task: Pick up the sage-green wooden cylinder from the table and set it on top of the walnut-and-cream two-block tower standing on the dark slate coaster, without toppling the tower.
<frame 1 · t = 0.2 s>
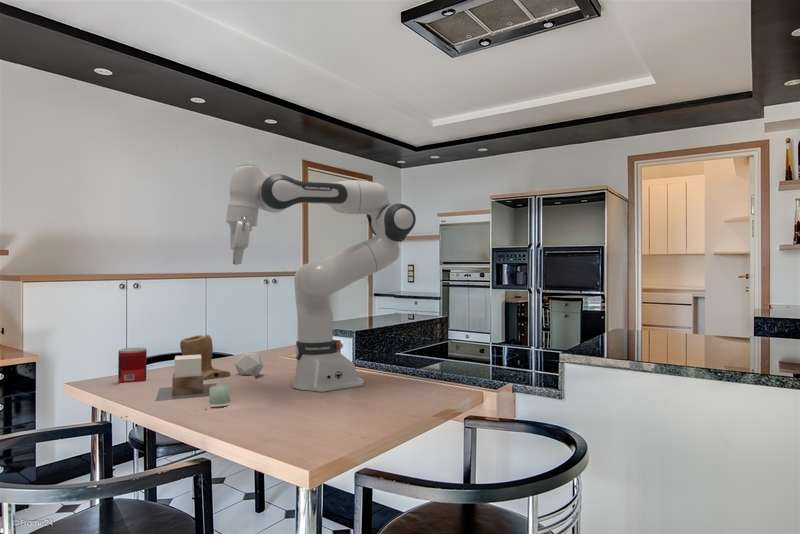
hand: (236, 264, 144), 38 cm above the table, tool pointing down, fingers open, 8 cm apart
cream block: (188, 374, 140), point 6 cm above the table, touching walnut block
walnut block: (188, 391, 140), point 1 cm above the table, touching cream block, slate coaster
tan boot: (202, 380, 161), on the table
slate coaster: (188, 395, 140), on the table
die: (249, 377, 166), on the table
canned food: (132, 383, 157), on the table
sage cylinder: (219, 405, 130), on the table
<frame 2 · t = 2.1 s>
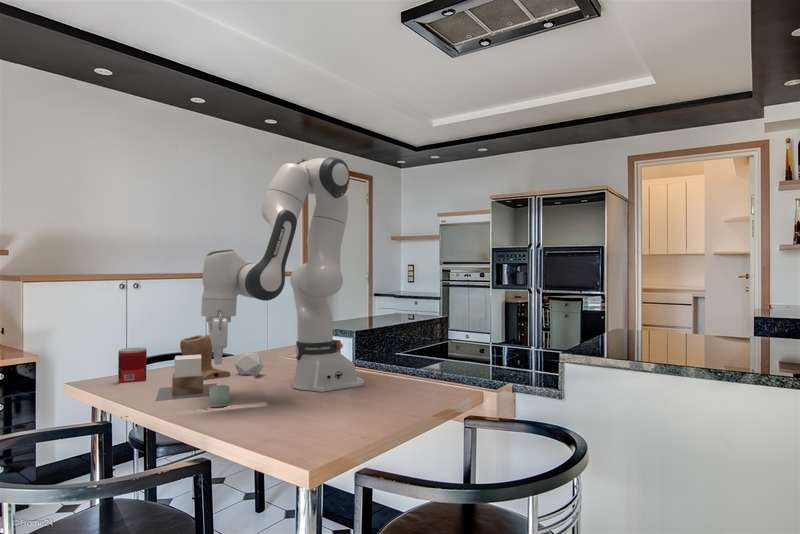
hand: (217, 361, 129), 12 cm above the table, tool pointing down, fingers open, 8 cm apart
nothing on the table moved.
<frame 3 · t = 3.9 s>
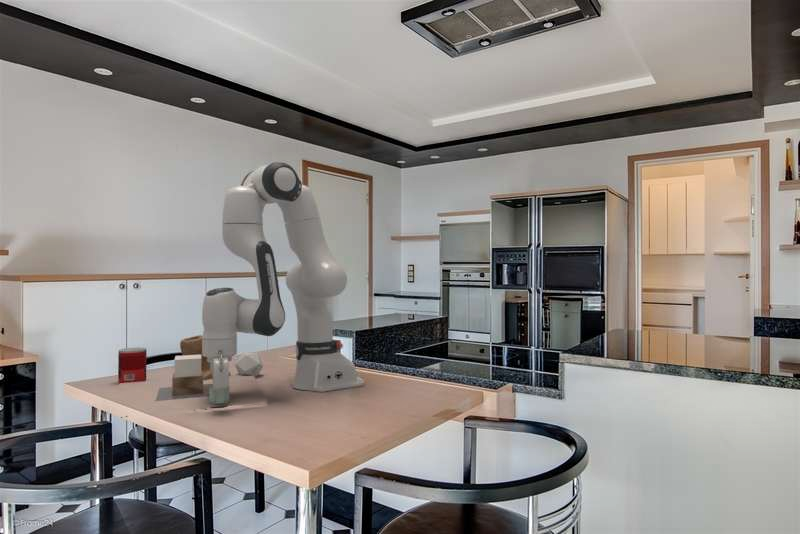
hand: (219, 399, 130), 2 cm above the table, tool pointing down, fingers closed on sage cylinder, 5 cm apart
sage cylinder: (219, 405, 130), on the table, touching gripper
everything else where it was.
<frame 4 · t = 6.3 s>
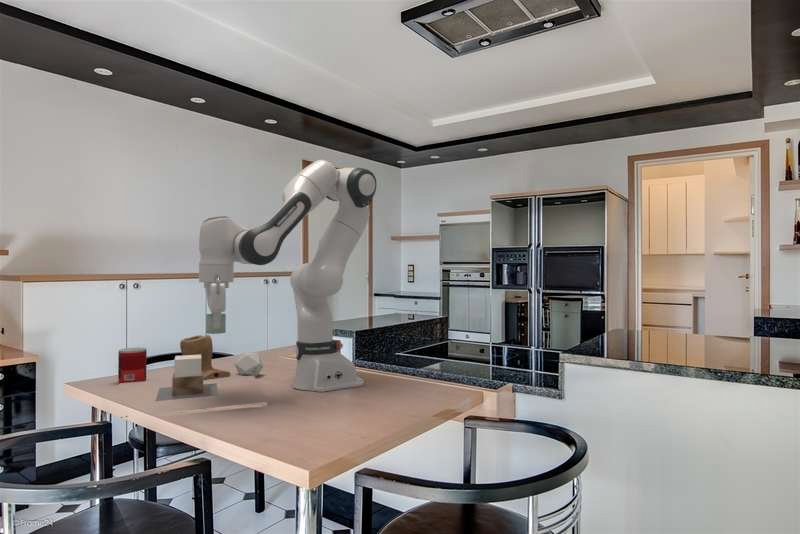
hand: (216, 326, 131), 21 cm above the table, tool pointing down, fingers closed on sage cylinder, 5 cm apart
sage cylinder: (215, 332, 131), point 20 cm above the table, touching gripper
everything else where it was.
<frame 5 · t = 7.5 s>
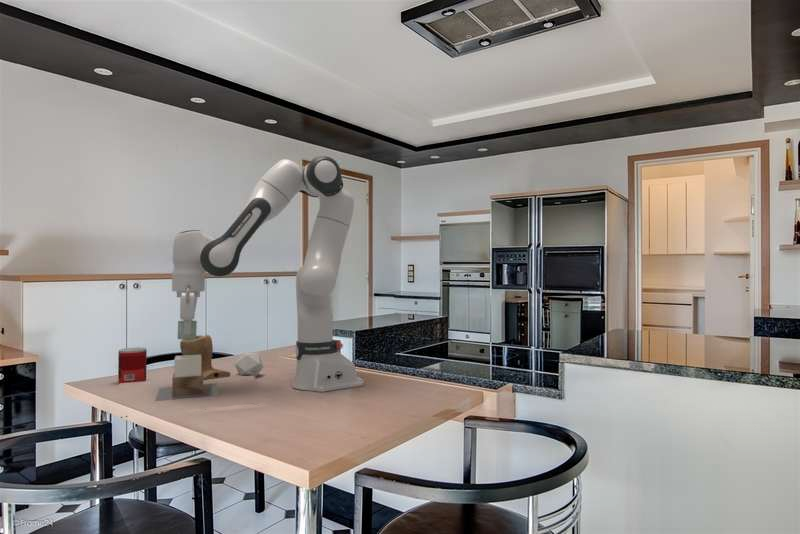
hand: (187, 332, 140), 18 cm above the table, tool pointing down, fingers closed on sage cylinder, 5 cm apart
sage cylinder: (187, 338, 140), point 17 cm above the table, touching gripper
everything else where it was.
when the fingers open (14 cm above the table, at t = 8.6 s): sage cylinder drops 1 cm, resting on cream block.
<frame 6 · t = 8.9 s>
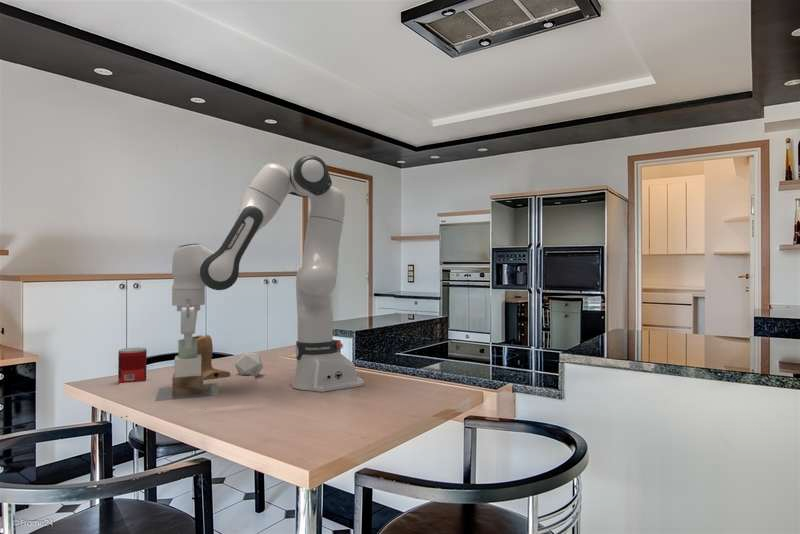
hand: (188, 346, 141), 14 cm above the table, tool pointing down, fingers open, 8 cm apart
cream block: (188, 374, 140), point 6 cm above the table, touching sage cylinder, walnut block
sage cylinder: (187, 357, 140), point 11 cm above the table, touching cream block
everything else where it was.
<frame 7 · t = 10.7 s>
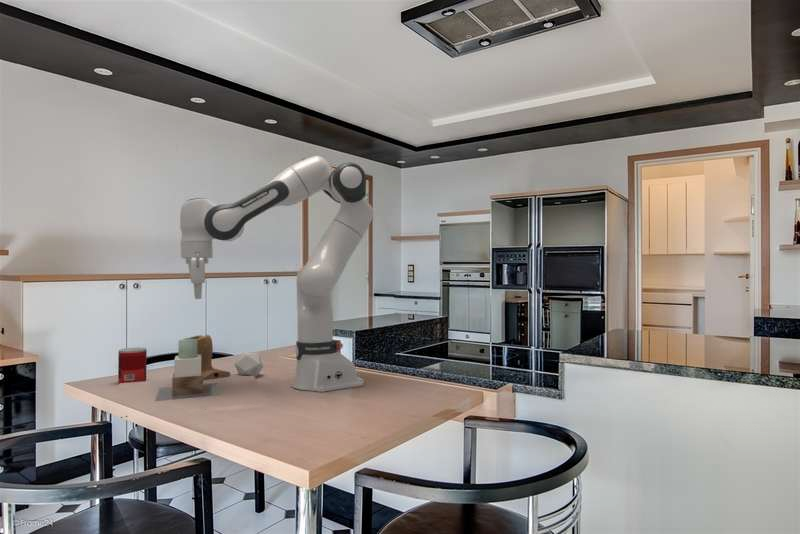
hand: (197, 298, 145), 28 cm above the table, tool pointing down, fingers open, 8 cm apart
nothing on the table moved.
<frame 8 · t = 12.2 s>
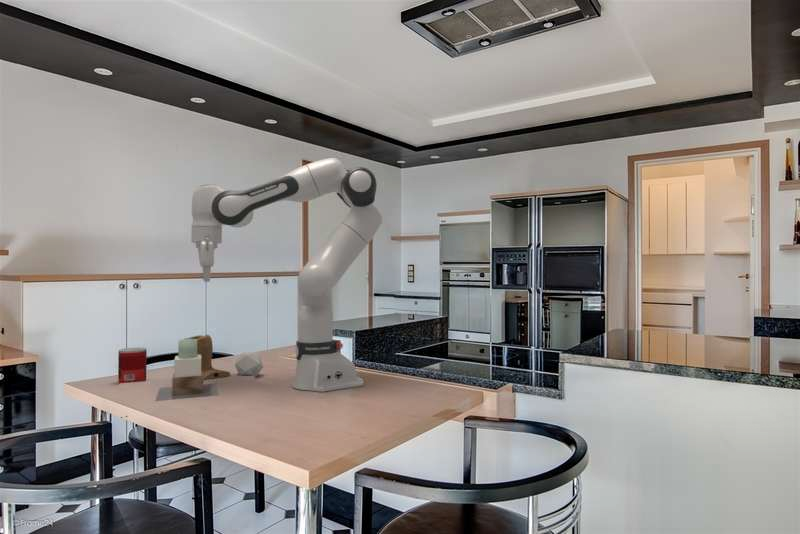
hand: (206, 281, 150), 33 cm above the table, tool pointing down, fingers open, 8 cm apart
nothing on the table moved.
at the end: sage cylinder 0.1 cm off-centre on the cream block, point 5.0 cm above the cream block's base; cream block 0.0 cm from the walnut block (horizontally); sage cylinder tilted 0° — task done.
